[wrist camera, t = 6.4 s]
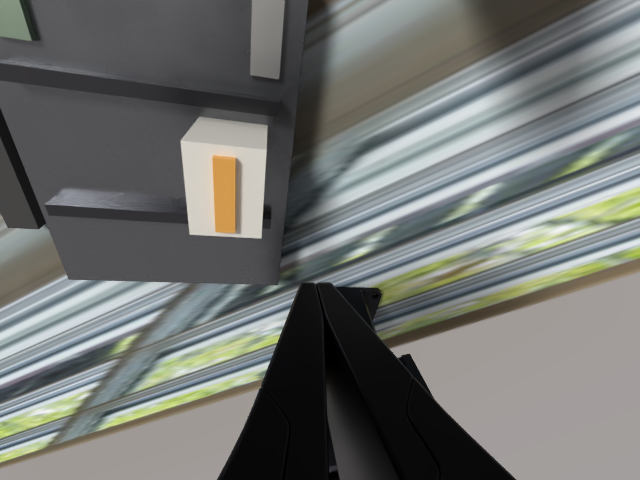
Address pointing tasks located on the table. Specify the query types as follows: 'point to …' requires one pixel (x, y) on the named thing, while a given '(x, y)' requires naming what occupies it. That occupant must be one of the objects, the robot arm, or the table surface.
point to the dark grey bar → (16, 186)
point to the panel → (147, 125)
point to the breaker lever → (225, 177)
